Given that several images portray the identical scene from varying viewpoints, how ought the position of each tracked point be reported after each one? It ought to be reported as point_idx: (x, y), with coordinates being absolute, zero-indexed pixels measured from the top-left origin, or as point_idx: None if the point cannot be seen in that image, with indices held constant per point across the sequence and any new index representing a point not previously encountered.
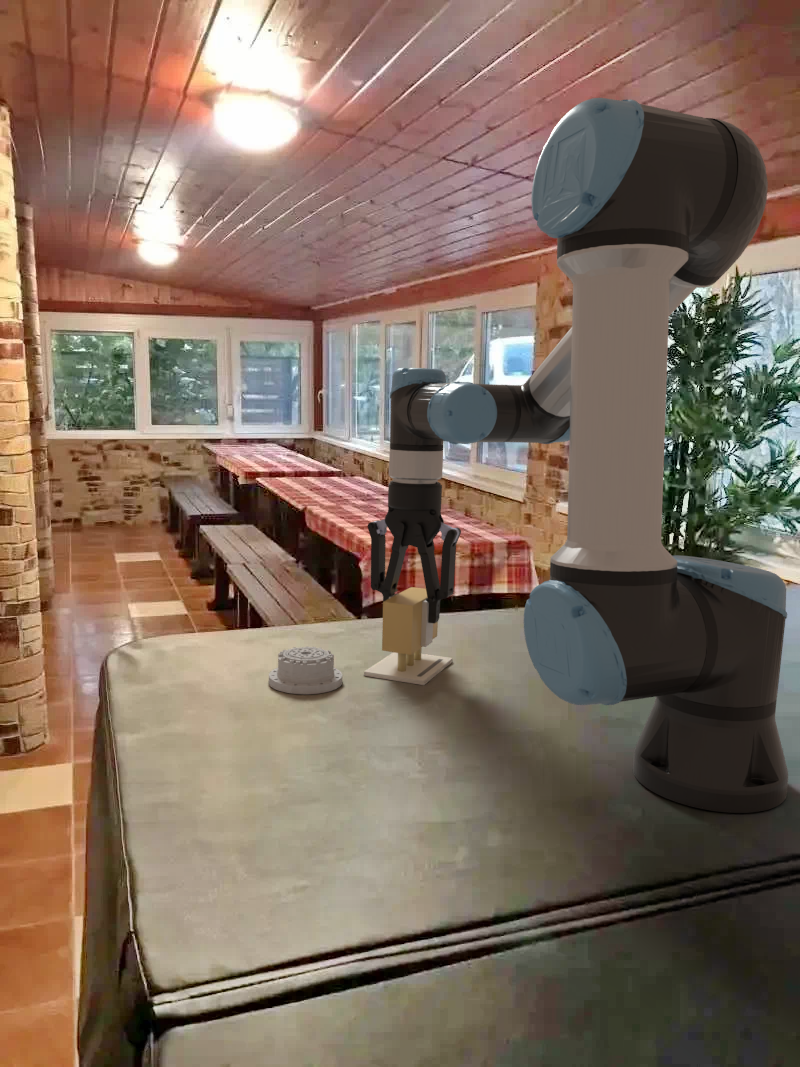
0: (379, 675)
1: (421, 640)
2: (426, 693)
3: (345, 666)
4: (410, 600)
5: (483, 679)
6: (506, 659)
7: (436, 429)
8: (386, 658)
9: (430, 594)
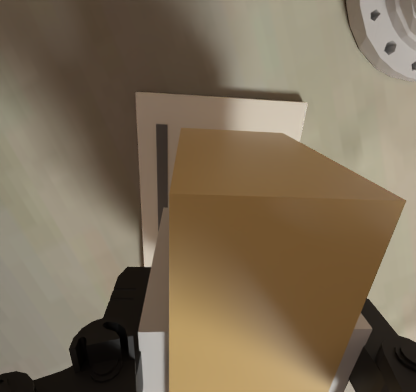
0: (262, 99)
1: None
2: (101, 24)
3: (359, 152)
4: (231, 304)
5: (32, 197)
6: (59, 324)
7: None
8: None
9: (108, 388)
